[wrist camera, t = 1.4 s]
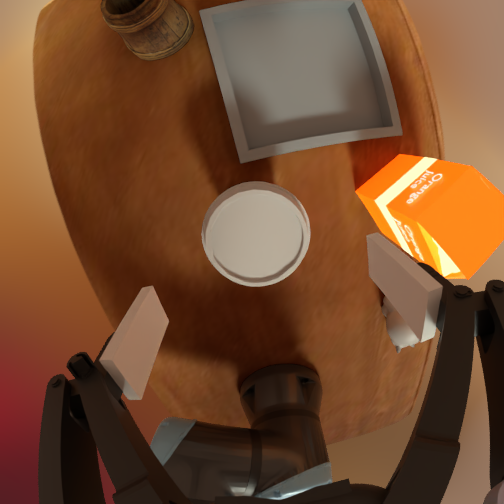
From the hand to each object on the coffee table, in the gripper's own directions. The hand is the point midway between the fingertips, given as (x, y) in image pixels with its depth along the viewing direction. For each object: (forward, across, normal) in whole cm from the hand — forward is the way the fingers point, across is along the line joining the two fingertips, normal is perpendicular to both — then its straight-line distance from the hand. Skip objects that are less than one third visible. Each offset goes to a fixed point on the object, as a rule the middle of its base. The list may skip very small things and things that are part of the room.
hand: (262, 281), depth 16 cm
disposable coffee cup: (+20, 0, 0) cm, 20 cm away
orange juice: (+20, -19, +2) cm, 27 cm away
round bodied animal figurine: (+20, -19, +22) cm, 35 cm away
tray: (+20, -10, -16) cm, 27 cm away
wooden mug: (+20, +6, -29) cm, 35 cm away
